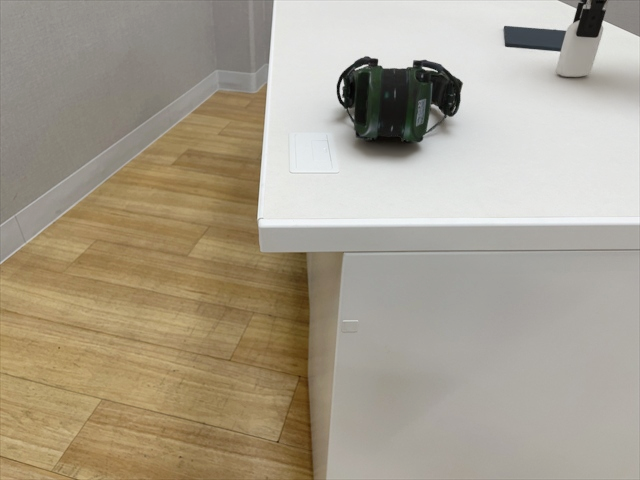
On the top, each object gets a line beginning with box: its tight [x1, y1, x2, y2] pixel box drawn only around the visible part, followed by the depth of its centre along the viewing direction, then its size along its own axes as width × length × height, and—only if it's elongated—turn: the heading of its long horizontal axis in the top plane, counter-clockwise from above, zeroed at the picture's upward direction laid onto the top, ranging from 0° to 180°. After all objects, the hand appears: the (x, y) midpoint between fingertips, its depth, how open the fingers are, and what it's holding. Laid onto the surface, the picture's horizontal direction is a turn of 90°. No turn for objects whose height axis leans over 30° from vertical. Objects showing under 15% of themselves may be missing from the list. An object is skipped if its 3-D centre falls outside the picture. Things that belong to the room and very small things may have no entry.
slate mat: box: [503, 25, 567, 52], centre depth 105 cm, size 14×16×1 cm
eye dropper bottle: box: [555, 4, 604, 78], centre depth 82 cm, size 4×6×12 cm
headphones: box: [336, 55, 464, 144], centre depth 64 cm, size 13×13×20 cm
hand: (584, 31), depth 82 cm, fingers closed on eye dropper bottle, 4 cm apart
